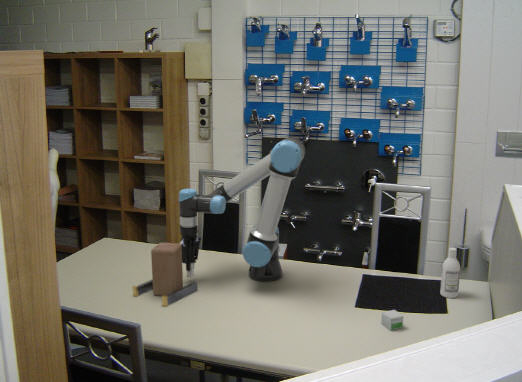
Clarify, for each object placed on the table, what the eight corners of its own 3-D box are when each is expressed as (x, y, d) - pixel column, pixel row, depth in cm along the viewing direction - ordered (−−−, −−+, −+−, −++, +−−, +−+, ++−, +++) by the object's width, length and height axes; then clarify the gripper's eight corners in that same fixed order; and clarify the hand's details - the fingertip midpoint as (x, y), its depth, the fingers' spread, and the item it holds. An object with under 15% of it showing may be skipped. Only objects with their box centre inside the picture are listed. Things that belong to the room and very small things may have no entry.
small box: (390, 331, 193) (390, 318, 192) (380, 324, 198) (381, 311, 197) (403, 328, 196) (404, 315, 194) (393, 321, 201) (394, 309, 200)
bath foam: (461, 297, 221) (465, 250, 217) (447, 299, 219) (451, 252, 214) (450, 290, 228) (454, 245, 223) (436, 293, 225) (440, 247, 221)
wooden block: (175, 297, 221) (173, 251, 216) (152, 295, 223) (150, 249, 218) (183, 288, 231) (182, 243, 226) (161, 286, 233) (159, 241, 228)
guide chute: (197, 290, 228) (197, 281, 227) (165, 306, 213) (165, 297, 212) (166, 280, 238) (165, 272, 237) (133, 295, 223) (132, 286, 222)
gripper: (192, 220, 239) (194, 270, 245) (171, 227, 229) (173, 279, 234) (205, 222, 235) (206, 274, 240) (184, 230, 225) (186, 283, 230)
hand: (190, 276), depth 237 cm, fingers closed
